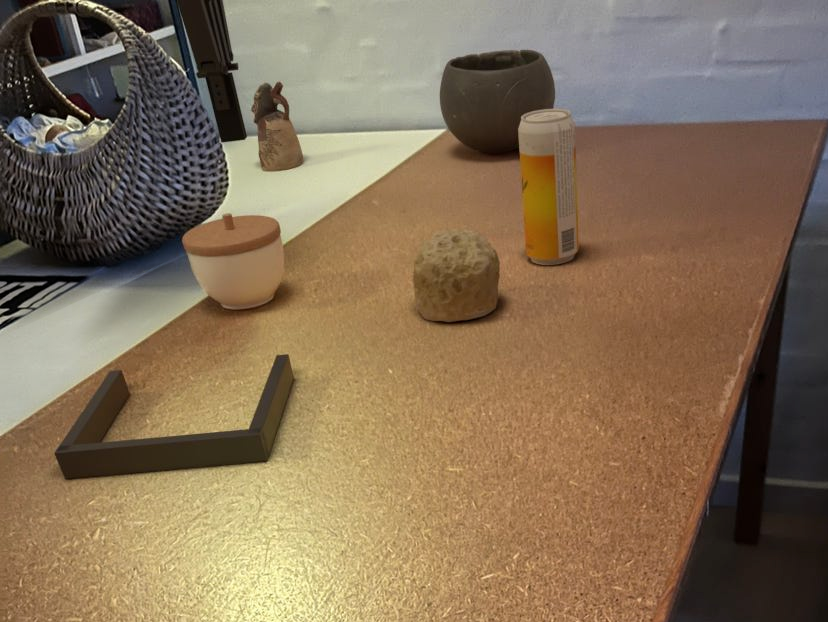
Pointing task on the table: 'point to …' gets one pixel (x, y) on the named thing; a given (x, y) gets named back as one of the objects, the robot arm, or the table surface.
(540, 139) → the beer can
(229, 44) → the robot arm
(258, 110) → the figurine
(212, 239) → the trinket box
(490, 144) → the bowl
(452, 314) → the coral
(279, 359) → the frame
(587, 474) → the table surface
